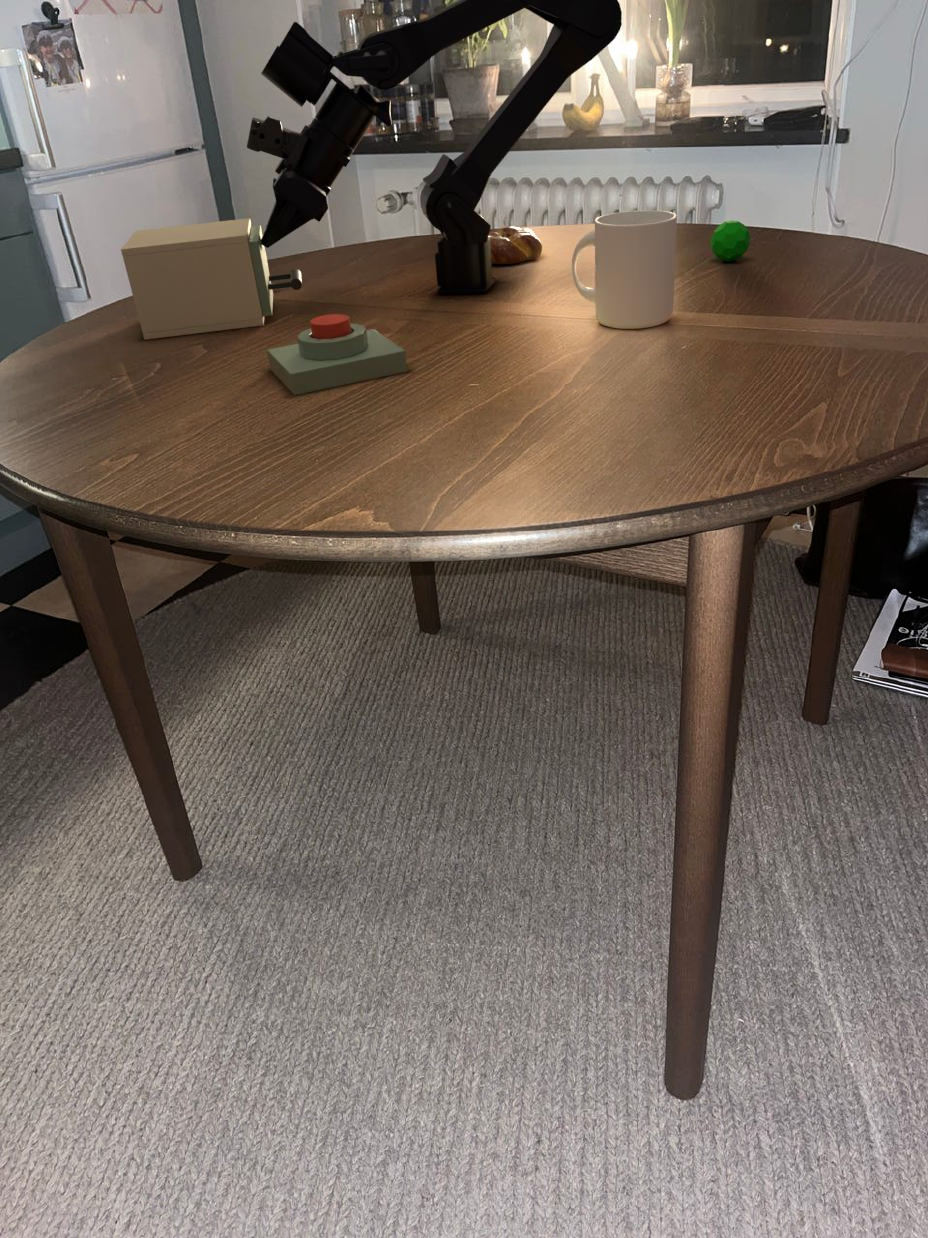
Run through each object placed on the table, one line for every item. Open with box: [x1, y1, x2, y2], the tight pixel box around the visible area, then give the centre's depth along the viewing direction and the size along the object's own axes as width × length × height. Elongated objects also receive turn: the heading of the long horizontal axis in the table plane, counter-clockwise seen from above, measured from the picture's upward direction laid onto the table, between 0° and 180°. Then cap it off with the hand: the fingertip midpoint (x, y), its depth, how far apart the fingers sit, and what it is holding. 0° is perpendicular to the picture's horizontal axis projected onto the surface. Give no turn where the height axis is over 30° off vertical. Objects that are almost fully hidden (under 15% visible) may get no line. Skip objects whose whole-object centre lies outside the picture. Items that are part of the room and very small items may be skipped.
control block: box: [266, 322, 408, 396], centre depth 97 cm, size 12×10×4 cm
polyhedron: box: [710, 220, 751, 262], centre depth 125 cm, size 5×5×5 cm
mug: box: [571, 209, 678, 330], centre depth 104 cm, size 9×12×11 cm
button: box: [309, 313, 352, 339], centre depth 96 cm, size 4×4×2 cm
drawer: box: [248, 224, 303, 318], centre depth 119 cm, size 18×11×9 cm, turn 99°
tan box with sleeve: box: [120, 217, 265, 341], centre depth 118 cm, size 15×13×11 cm
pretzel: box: [489, 225, 543, 265], centre depth 137 cm, size 12×11×4 cm
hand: (263, 245), depth 118 cm, fingers closed, pressing on drawer
